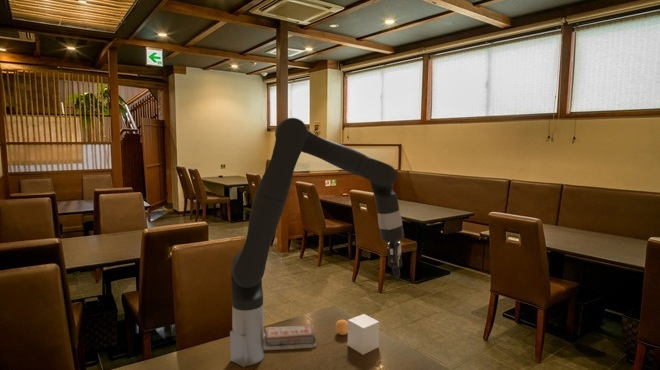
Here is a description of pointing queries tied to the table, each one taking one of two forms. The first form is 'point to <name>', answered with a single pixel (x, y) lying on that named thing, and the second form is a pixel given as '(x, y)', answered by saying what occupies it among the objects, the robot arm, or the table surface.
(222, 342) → the table surface
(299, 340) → the packaged product
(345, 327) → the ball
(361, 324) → the white foam cube
